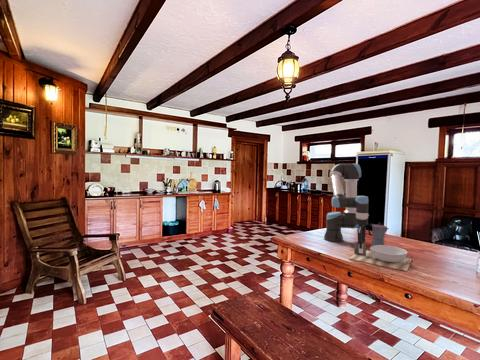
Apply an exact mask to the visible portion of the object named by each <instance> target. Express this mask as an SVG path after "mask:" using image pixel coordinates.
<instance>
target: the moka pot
mask: <svg viewBox="0 0 480 360" xmlns="http://www.w3.org/2000/svg"><path fill="white" fill-rule="evenodd" d="M366 226H367V227H366V229H367V232H368V235H369V236H371V237H372V240H371V246H374V245H385V241H384V240H385V234H386V233H387V232H388V230H389V228H388V227H387V226H385V225H383V224H381V222H378V223H377V224H374V223H371V222H370V223H368V225H366ZM370 227H371V228H372V229H371V230H372V233H371V230H370ZM371 246H370V247H371Z"/></svg>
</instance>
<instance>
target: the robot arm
mask: <svg viewBox="0 0 480 360" xmlns="http://www.w3.org/2000/svg"><path fill="white" fill-rule="evenodd" d="M328 174H329V179H330V181H331V186H332V187H331V188H332V193H333V196H332V197H331V206H332V207H333V208H344V209H345V210H343V213H342V212H341V211H331V212H327V214H326V219H325V220H326V227H325V228H326V230H325V233H324V236H323V239H324V240H325V241H327V242H332V243H334V242H335V243H341V242H343V241H344V236H343V234H342V229H357V242H358V244H359V253H362V254H363V243H365V244H367V243H366V234H367V233H366V232H367V230H366V229H367V227H366V226H367V225H368V224H369V216H370V214H369V196H367V195H366V196H365V195H358V192H357V191H358V188H357V187H358V181H359V180H360V178H361V177H362V169H361V166H360V164H358V163H338V164H335V165H333V166H332V167H331V169H330V171H329V173H328ZM342 178H343V181H345V193H344V187H343V186H344V185H343V182H342Z"/></svg>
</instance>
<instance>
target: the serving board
mask: <svg viewBox="0 0 480 360" xmlns="http://www.w3.org/2000/svg"><path fill="white" fill-rule="evenodd" d="M353 244H354V248H353V249H354V250H353V251H354V252H353V253H354V254H352V255H351V256H350V257H349V260H352V261H355V262H356V261H357V262H362V263H366V264H370V265H375V266H380V267H386V268H389V269H395V270H399V271H403V272H408V270H409V267H410V265H411V262H412V261H413V259H412V258H409V257H406V258H405V259H404V260H403V261H400V262H385V261H382V260H379V259H377V258H375V257H374V256H373V255H372V253H371V251H370V250H367V243H363V254H362V253H359V244H358V241H354V243H353Z"/></svg>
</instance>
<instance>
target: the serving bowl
mask: <svg viewBox="0 0 480 360" xmlns="http://www.w3.org/2000/svg"><path fill="white" fill-rule="evenodd" d="M369 251H371V253H372V255H373V256H374V257H375V258H377V259H379V260H382V261H385V262H400V261H403V260H404V259H405V258H408V251H407V250H406V249H404V248H402V247H398V246H392V245H385V244H384V245H374V246H370V247H369Z"/></svg>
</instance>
